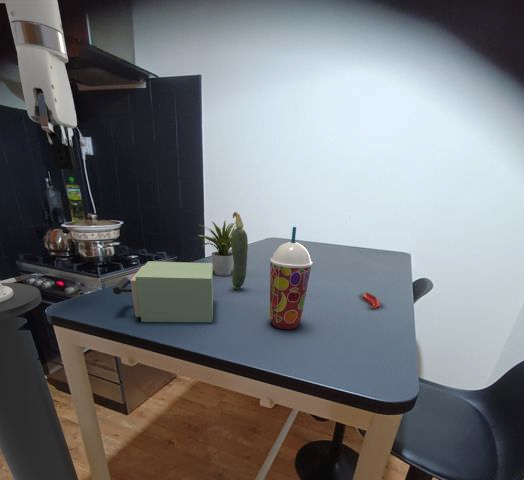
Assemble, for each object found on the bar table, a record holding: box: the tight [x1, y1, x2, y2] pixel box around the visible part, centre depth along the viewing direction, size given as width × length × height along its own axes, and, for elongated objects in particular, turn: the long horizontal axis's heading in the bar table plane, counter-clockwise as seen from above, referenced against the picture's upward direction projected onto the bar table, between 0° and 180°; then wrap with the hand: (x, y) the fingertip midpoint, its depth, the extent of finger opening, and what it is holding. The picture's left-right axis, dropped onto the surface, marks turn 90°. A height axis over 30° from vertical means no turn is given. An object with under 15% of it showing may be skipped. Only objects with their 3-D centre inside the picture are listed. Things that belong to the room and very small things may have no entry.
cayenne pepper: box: [362, 292, 381, 310], centre depth 85 cm, size 12×5×2 cm, turn 162°
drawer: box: [112, 265, 145, 318], centre depth 69 cm, size 18×11×8 cm, turn 97°
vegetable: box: [230, 211, 249, 291], centre depth 83 cm, size 4×4×20 cm
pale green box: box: [135, 260, 214, 323], centre depth 70 cm, size 15×13×10 cm
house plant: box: [197, 220, 236, 277], centre depth 99 cm, size 14×14×16 cm
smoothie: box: [269, 226, 313, 330], centre depth 64 cm, size 8×8×20 cm
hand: (66, 169), depth 63 cm, fingers closed
